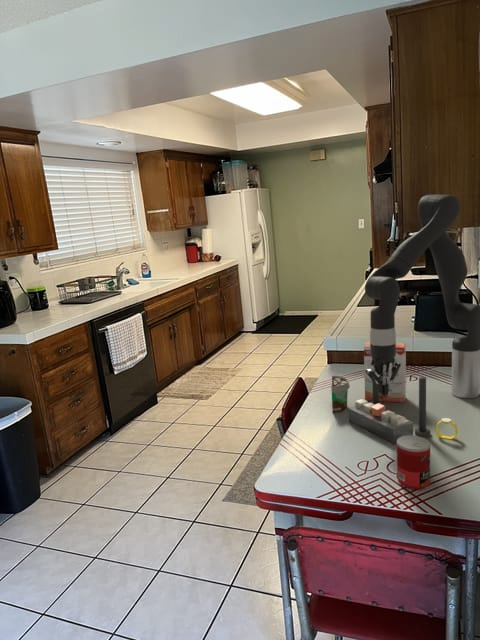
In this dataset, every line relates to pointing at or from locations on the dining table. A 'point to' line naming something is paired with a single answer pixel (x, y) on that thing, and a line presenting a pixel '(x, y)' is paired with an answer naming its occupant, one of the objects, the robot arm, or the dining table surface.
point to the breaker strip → (379, 422)
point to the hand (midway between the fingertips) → (383, 394)
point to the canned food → (413, 462)
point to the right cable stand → (422, 410)
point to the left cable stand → (375, 393)
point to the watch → (446, 421)
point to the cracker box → (399, 383)
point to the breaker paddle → (378, 409)
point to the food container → (339, 393)
